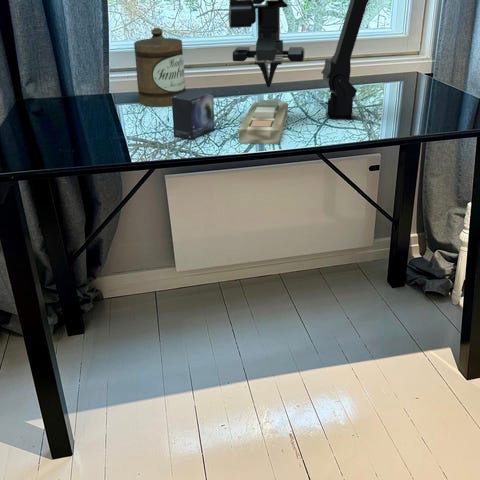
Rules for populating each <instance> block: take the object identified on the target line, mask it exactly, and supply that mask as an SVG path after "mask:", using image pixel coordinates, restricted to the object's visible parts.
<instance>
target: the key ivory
mask: <svg viewBox="0 0 480 480" xmlns="http://www.w3.org/2000/svg"><path fill="white" fill-rule="evenodd" d="M254 118H273V119H275V107H257V108H256V110H255V112H254Z"/></svg>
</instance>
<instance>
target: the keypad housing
mask: <svg viewBox="0 0 480 480" xmlns="http://www.w3.org/2000/svg"><path fill="white" fill-rule="evenodd" d="M259 102H260V101H259ZM259 102H258V101H257V102H255V101H254V102H253V103H252V104H251V105H250V108H249V110H248V112H247V113H246V115H245V116H244V119H243V120H242V122H241V124H240V126H239V127H238V143H239V144H263V145H265V144H266V145H272V144H273V145H279V144H280V141H281V139H282V138H281V137H282V134H283V132H284V128H285V126H286V121H287V118H288V115H289V114H288V113H289V103H288V102H278V111H275V119H273V118H254V112H255V110H256V108H257V107H258V104H259ZM253 120H260V121H272V127H252V126H251V124H252V122H253Z"/></svg>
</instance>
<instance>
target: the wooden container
mask: <svg viewBox="0 0 480 480" xmlns="http://www.w3.org/2000/svg"><path fill="white" fill-rule="evenodd" d="M150 34H151V35H152V36H151V38H144V39H140V40H139V39H138V40H136V41H134V43H133V45H134V46H133V47H134V54H135V55H134V57H135V67H136V83H137V90H138V101H139V102H138V103H139V104H140V105H143V106H146V107H152V108H153V107H155V108H163V107H172V99H171V97H172V96H175V95H178V94H181V93H184V92H186V91H187V90H186V77H185V75H186V74H185V65H184V54H183V52H184V51H183V41H182V39H179V38H174V37H173V38H171V37H165V36H164V35H163V29H161V28H159V27H154V28H153V29H152V30H151V33H150Z"/></svg>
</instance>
